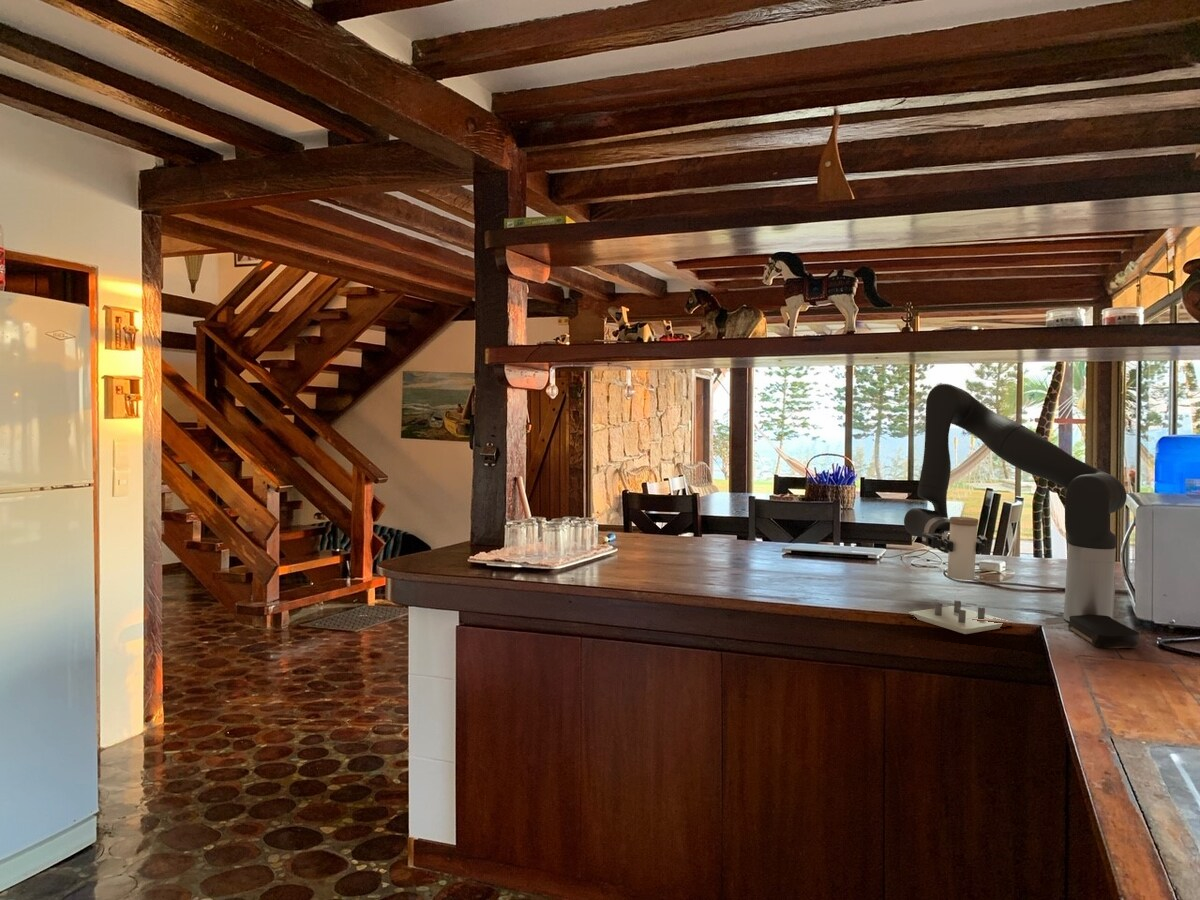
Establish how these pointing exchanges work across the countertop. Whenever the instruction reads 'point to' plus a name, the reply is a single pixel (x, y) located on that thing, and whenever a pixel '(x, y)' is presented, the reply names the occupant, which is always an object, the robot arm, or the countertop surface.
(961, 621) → the plate
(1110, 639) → the black sponge
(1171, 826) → the countertop surface
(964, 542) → the canister
